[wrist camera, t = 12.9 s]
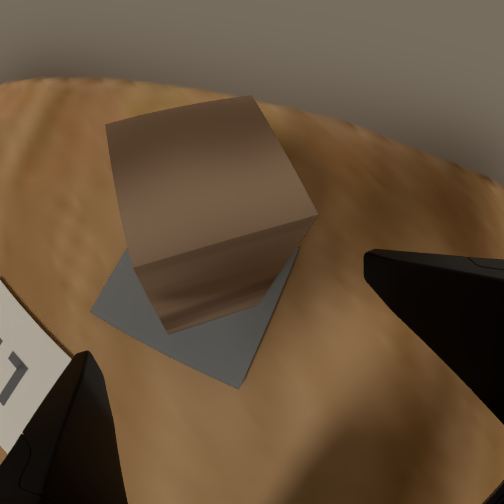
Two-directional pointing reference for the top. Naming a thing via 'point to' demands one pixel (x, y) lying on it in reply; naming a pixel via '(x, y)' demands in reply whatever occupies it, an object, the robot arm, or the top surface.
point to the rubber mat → (192, 339)
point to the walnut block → (206, 207)
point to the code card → (23, 367)
